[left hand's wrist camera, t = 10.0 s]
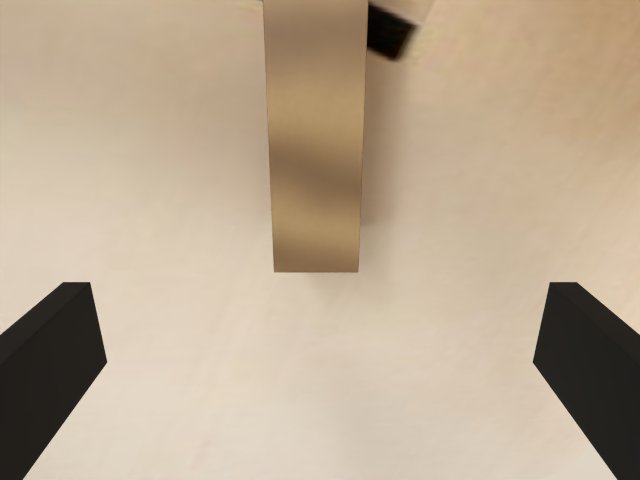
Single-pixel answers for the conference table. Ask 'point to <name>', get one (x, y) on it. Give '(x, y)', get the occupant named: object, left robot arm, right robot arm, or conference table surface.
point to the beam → (315, 130)
